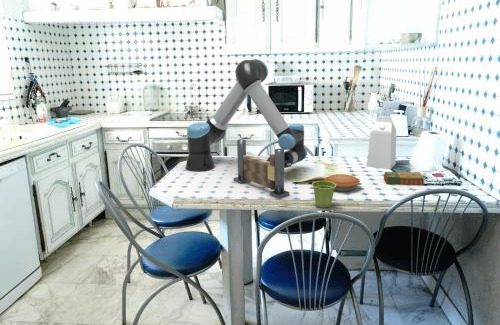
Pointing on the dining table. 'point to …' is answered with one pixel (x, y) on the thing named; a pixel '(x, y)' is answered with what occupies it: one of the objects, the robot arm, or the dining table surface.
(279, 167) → the gate posts
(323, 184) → the plant pot
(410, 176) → the carton
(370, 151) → the milk
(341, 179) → the pie
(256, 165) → the gate
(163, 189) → the dining table surface
